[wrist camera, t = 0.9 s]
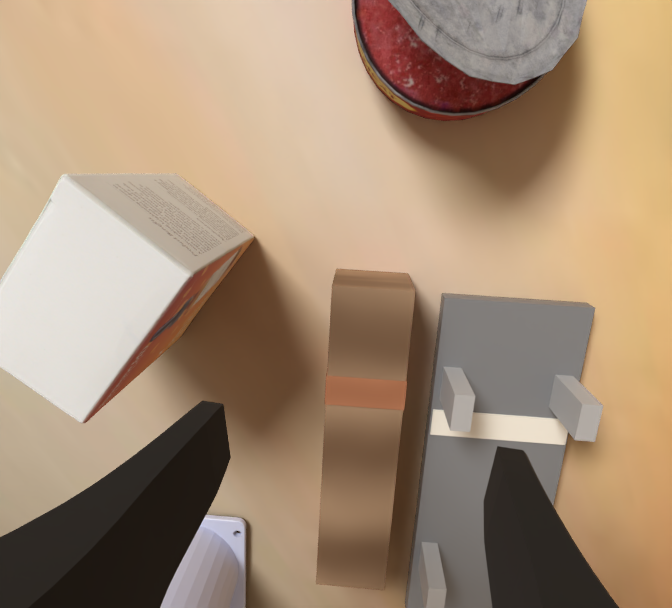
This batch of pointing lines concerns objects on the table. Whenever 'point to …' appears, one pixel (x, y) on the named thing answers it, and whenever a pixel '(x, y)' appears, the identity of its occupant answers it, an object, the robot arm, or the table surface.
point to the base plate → (492, 428)
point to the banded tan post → (363, 424)
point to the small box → (110, 283)
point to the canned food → (462, 50)
